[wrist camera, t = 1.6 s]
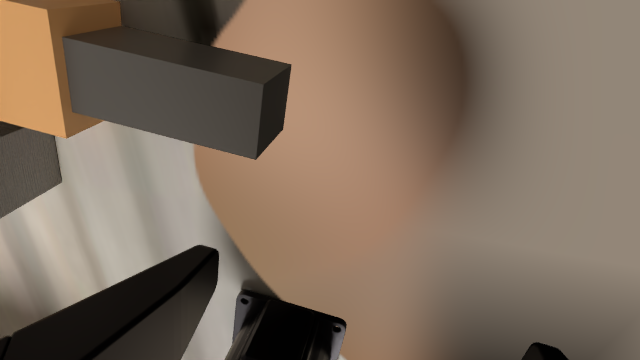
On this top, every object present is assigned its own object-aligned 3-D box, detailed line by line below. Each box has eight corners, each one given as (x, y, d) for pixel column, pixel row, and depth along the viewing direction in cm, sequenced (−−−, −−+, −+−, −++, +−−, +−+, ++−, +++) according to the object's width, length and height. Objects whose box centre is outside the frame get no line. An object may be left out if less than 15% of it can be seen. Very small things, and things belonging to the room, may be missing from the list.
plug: (280, 148, 19) (249, 187, 16) (55, 91, 21) (-18, 115, 17) (294, 40, 17) (261, 58, 13) (39, -16, 18) (-50, -13, 15)
